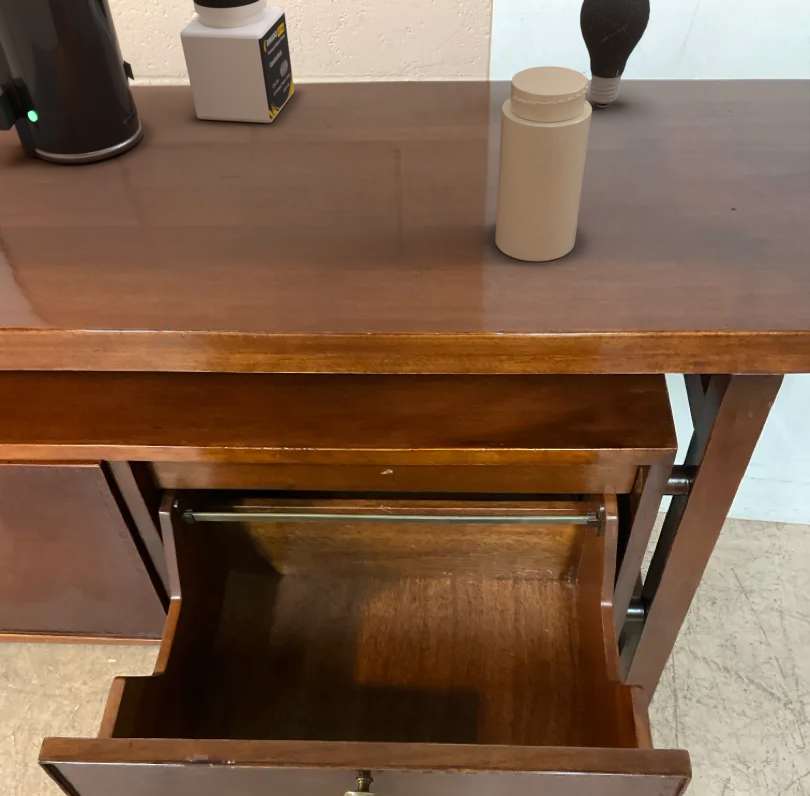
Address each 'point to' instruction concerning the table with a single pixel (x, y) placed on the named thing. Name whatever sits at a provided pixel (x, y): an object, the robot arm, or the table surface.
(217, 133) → the table surface
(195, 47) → the medicine bottle
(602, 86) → the light bulb
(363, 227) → the table surface
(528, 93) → the jar
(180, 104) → the table surface
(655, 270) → the table surface
